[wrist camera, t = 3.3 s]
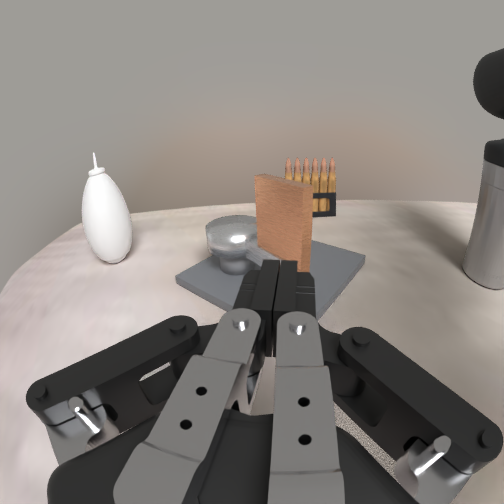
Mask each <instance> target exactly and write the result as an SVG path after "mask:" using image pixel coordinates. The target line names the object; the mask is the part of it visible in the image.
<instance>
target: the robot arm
mask: <svg viewBox="0 0 504 504" xmlns="http://www.w3.org/2000/svg"><path fill="white" fill-rule="evenodd" d="M473 85H474V91H475V94H476V97H477V100H478V101H479V103H480V105H481V106H482V107H483V108H484V109H485V110H486V111H487V112H489V113H491V114H492V115H494V116H496V117H498V118H501V119H504V48H503V49H501V50H498V51H495V52H492V53H489V54H487V55H485V56H484V57H483V58H482V59H481V60H480V61H479V63H478V65H477V67H476V69H475V72H474V79H473ZM297 264H298V260H281V265H280V260H271V259H263V262H262V266H261V270H250V271H249V272H248V273H247V274H245V275H244V277H243V280H242V283H241V286H240V289H239V291H238V294H237V297H236V300H235V303H234V306H233V308H232V310H230V311H228V312H227V313H225V314H224V315H223V316H222V318H221V320H220V322H219V323H216V324H212V325H205V326H198V325H197V322H196V321H195V320H194V319H193V318H191V317H189V316H183V315H180V316H174V317H171V318H168V319H166V320H164V321H162V322H160V323H158V324H156V325H154V326H152V327H150V328H148V329H146V330H144V331H142V332H140V333H138V334H136V335H134V336H132V337H129V338H127V339H125V340H123V341H121V342H119V343H117V344H115V345H113V346H111V347H109V348H107V349H104V350H102V351H100V352H98V353H96V354H94V355H92V356H90V357H88V358H85V359H83V360H81V361H79V362H77V363H75V364H73V365H70V366H68V367H66V368H64V369H62V370H60V371H57V372H55V373H53V374H51V375H49V376H46V377H44V378H42V379H40V380H38V381H36V382H34V383H33V384H32V385H31V386H30V388H29V389H28V391H27V394H26V402H27V405H28V406H29V407H30V409H31V410H32V411H33V412H34V413H35V414H36V415H37V416H38V417H39V418H40V420H41V421H42V422H43V423H44V424H45V426H46V429H47V432H48V435H49V438H50V441H51V444H52V447H53V450H54V453H55V456H56V459H57V461H58V464H59V466H58V467H57V468H56V469H55V470H54V472H53V473H52V475H51V477H50V479H49V482H48V487H47V497H48V504H450V503H451V502H452V501H453V499H454V498H455V497H456V496H457V494H458V493H459V492H460V490H461V489H462V488H463V486H464V485H465V484H466V482H467V481H468V480H469V478H470V477H471V475H473V474H474V473H476V472H477V471H478V470H480V469H481V468H483V467H484V466H485V465H487V464H488V463H490V462H491V461H492V460H494V459H495V458H496V457H497V456H498V455H499V453H500V452H501V449H502V446H503V435H502V432H501V430H500V428H499V427H498V426H497V425H496V424H495V423H493V422H492V421H491V420H490V419H488V418H487V417H486V416H484V415H483V414H482V413H480V412H479V411H478V410H477V409H475V408H474V407H473V406H471V405H470V404H469V403H467V402H466V401H465V400H464V399H462V398H461V397H460V396H458V395H457V394H456V393H454V392H453V391H452V390H450V389H449V388H448V387H447V386H445V385H444V384H443V383H441V382H440V381H439V380H437V379H436V378H435V377H433V376H432V375H431V374H429V373H428V372H427V371H425V370H424V369H423V368H422V367H420V366H419V365H418V364H416V363H415V362H414V361H412V360H411V359H410V358H408V357H407V356H406V355H404V354H403V353H402V352H400V351H399V350H398V349H396V348H395V347H394V346H392V345H391V344H390V343H388V342H387V341H386V340H384V339H383V338H382V337H380V336H379V335H378V334H376V333H375V332H373V331H372V330H370V329H367V328H363V327H353V328H349V329H347V330H346V331H344V332H343V333H342V335H340V334H337V333H333V332H330V331H328V330H326V329H324V328H323V327H321V326H320V325H319V323H318V322H317V319H316V301H315V280H314V278H313V276H312V275H311V274H310V272H297ZM462 267H463V270H464V271H465V273H466V274H467V275H468V276H469V277H470V278H471V279H472V280H474V281H475V282H477V283H479V284H480V285H482V286H485V287H488V288H491V289H503V288H504V139H501V140H494V141H489V142H487V143H486V145H485V150H484V161H483V171H482V179H481V187H480V192H479V198H478V204H477V209H476V214H475V219H474V223H473V228H472V232H471V236H470V240H469V243H468V247H467V251H466V254H465V258H464V261H463V265H462ZM272 349H273V357H276V371H275V395H274V414H267V415H259V416H251V415H250V413H251V409H252V405H253V402H254V399H255V395H256V392H257V389H258V385H259V382H260V378H261V375H262V367H263V364H264V359H265V356H266V357H271V355H272ZM168 362H169V363H170V366H168V367H167V368H165V369H163V370H161V371H159V372H157V373H156V374H154V375H152V376H150V377H148V378H146V379H144V380H142V381H139V380H140V379H141V378H142V377H143V376H144V375H146V374H147V373H149V372H151V371H153V370H155V369H157V368H159V367H161V366H162V365H164V364H166V363H168ZM333 401H334V402H335V403H336V404H337V405H338V406H339V407H340V408H341V409H342V410H343V411H344V412H345V413H346V414H347V415H348V416H349V417H350V418H351V419H352V420H353V421H354V422H355V423H356V424H357V425H358V426H359V427H360V428H361V429H362V430H363V431H364V432H365V433H366V434H367V435H368V436H369V437H370V438H371V439H373V440H374V441H375V442H376V443H377V444H378V445H379V446H380V447H381V448H382V449H383V450H384V451H385V452H386V453H387V454H389V455H390V456H391V457H392V458H393V459H394V460H395V461H396V464H395V467H394V474H395V477H396V479H397V481H398V482H399V483H400V484H399V483H398V482H397V481H396V480H395V479H394V478H393V477H392V476H391V475H390V474H389V473H388V472H387V471H386V470H385V469H384V468H383V467H382V466H381V465H380V464H379V463H378V462H377V461H376V460H375V459H374V458H373V456H372V455H371V454H370V453H369V452H368V451H367V450H366V449H365V448H364V447H363V446H362V445H361V444H360V443H359V442H358V441H357V440H356V439H355V438H354V437H353V436H352V435H351V434H349V433H348V432H346V431H345V430H343V429H341V428H339V427H337V426H336V423H335V413H334V404H333ZM132 427H133V428H132ZM130 428H131V429H130ZM128 429H129V430H128ZM126 430H127V431H126ZM124 431H125V432H124ZM122 432H124V433H122ZM120 433H122V434H120ZM119 434H120V435H119Z"/></svg>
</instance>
